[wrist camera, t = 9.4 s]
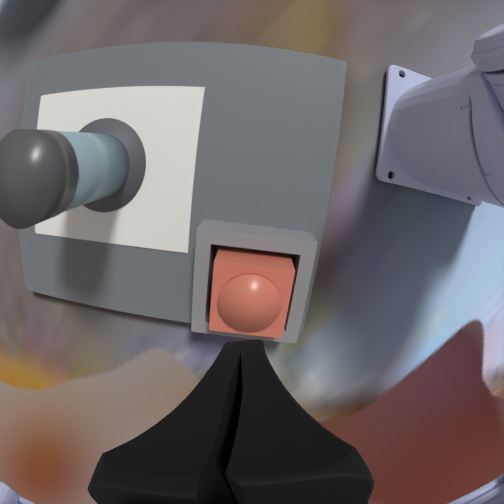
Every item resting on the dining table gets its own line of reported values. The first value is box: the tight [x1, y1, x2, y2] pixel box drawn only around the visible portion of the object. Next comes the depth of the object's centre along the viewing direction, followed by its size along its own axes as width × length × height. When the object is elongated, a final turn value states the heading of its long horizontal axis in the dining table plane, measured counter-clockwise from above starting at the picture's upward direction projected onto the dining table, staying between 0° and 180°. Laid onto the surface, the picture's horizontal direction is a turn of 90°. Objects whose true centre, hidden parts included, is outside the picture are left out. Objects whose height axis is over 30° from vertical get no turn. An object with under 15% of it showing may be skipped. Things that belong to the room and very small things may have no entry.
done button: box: [209, 247, 295, 338], centre depth 17 cm, size 4×4×3 cm
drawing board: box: [19, 42, 347, 343], centre depth 17 cm, size 22×18×3 cm
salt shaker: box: [0, 129, 129, 229], centre depth 13 cm, size 4×4×8 cm
